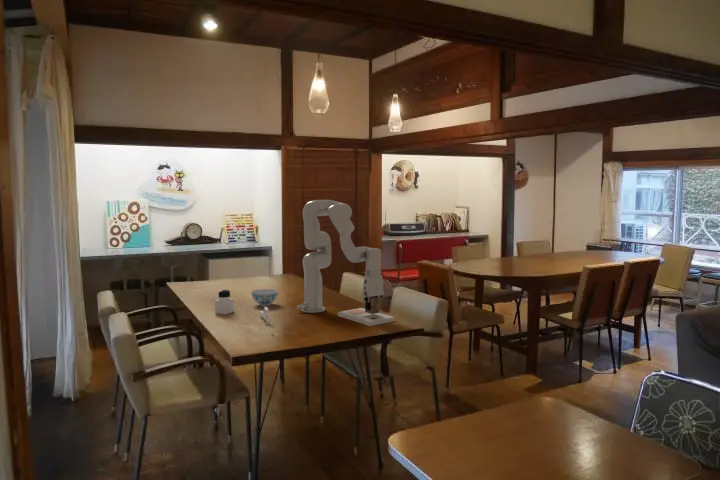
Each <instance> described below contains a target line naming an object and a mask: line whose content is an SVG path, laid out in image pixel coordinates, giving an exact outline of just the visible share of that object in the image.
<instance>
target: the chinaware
mask: <svg viewBox="0 0 720 480" xmlns="http://www.w3.org/2000/svg"><path fill="white" fill-rule="evenodd" d="M278 295H279V290H278V289H273V288H264V289H263V288H262V289H255V290H251V296H252V298H253V301H254V302H255V303H257V304H258V306H260V307H270V306H272V303H275V301H276V300H277V298H278Z"/></svg>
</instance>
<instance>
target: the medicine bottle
mask: <svg viewBox="0 0 720 480" xmlns="http://www.w3.org/2000/svg"><path fill="white" fill-rule="evenodd" d="M217 298H218V299H215V300H214V314H216V315H217V314H218V315H228V314H231V313H234V312H235V310H234V305H235V304H234V298H231V291H230V290H229V289H221V290H219V291H218V292H217Z"/></svg>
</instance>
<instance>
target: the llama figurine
mask: <svg viewBox="0 0 720 480" xmlns="http://www.w3.org/2000/svg"><path fill="white" fill-rule="evenodd" d="M269 310H270V309H269V308H268V306H263V310H260V311H259V313H258V314H259V318H261V319H262V318H263V319H264V320H265V321H266V323H267V324H266V325H269V324H270V326H272V321H273V320H272V317H271V315H270V314H271V313H270V311H269ZM268 322H269V323H268Z"/></svg>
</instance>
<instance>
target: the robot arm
mask: <svg viewBox="0 0 720 480" xmlns="http://www.w3.org/2000/svg"><path fill="white" fill-rule="evenodd" d="M352 210H353V209H352V207H351V206H350V205H349V204H347V203H344V202H340V201H336V200H332V199H314V200H311V201H308V202H306V204H305V205H304V207H303V208H302V220H303V221H302V222H303V236H304V239H303V240H304V242H303V243H304V246H305V248H306V249H307V250H311V251H313V252H309V253H307V254H305V255H304V256H303V258H302V267H303V276H304V279H303V282H304V302H302V304H297V305H296V309H297V310H299V309H301V311H302V312H304V313H309V314H311V313H312V314H313V313H322V312H325V311H326V307H325V306H323V276H322V273H321V269H326V268H329V266H330V265H331V264H332V241H331V237H330V235H329V233H327V232H326V231H323V230H321V224H320V223H321V222H320V221H319V219H318V217H325V216H326V217H327V216H328V217H329V219H330V221H331V223H332V224H333V226H334V228H335V229H336V231H337V233H338V234H339V246H340V248H341V251H342V252H343V254H344V257H345V258H346V259H347V260H348V261H349V262H351V263H354V264H355V263H360V262H361V263H362V262H365V271H364V278H363V285H362V293H361V294H360V297H361V298H362V299H363V301H364V303H365V302H366V304H365V305H364V309H367V310H370V305H371V302H370V298H371V297H374V296H377V297H380V300H381V298H382V297H383V296H384V295H385V291H384V279H383V275H381V273H382V250H381V249H380V248H378V247H377V248H376V247H369V246H365V245H364V246H363V245H362V246H355V244H354V243H353V240H352V238H351V235H352V233H353V232H354V230H355V225H354V223H353V222H352V220H351V218H352V216H353V211H352ZM315 250H316V251H315ZM367 298H368V299H367Z"/></svg>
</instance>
